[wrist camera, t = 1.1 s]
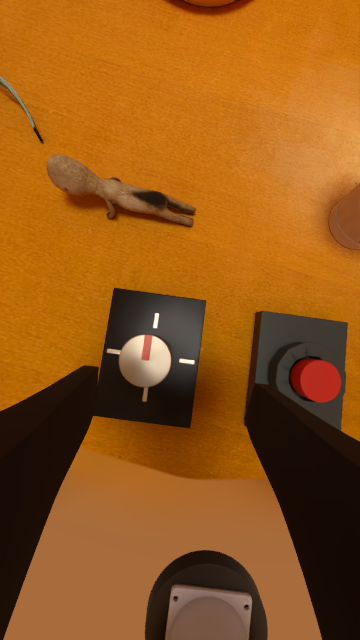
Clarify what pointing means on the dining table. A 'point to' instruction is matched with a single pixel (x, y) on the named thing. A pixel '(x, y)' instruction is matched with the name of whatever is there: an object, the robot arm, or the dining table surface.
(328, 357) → the switch block
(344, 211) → the cup
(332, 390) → the switch button
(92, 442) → the dining table surface
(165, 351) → the dimmer knob
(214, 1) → the teapot
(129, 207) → the figurine
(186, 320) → the dimmer panel
